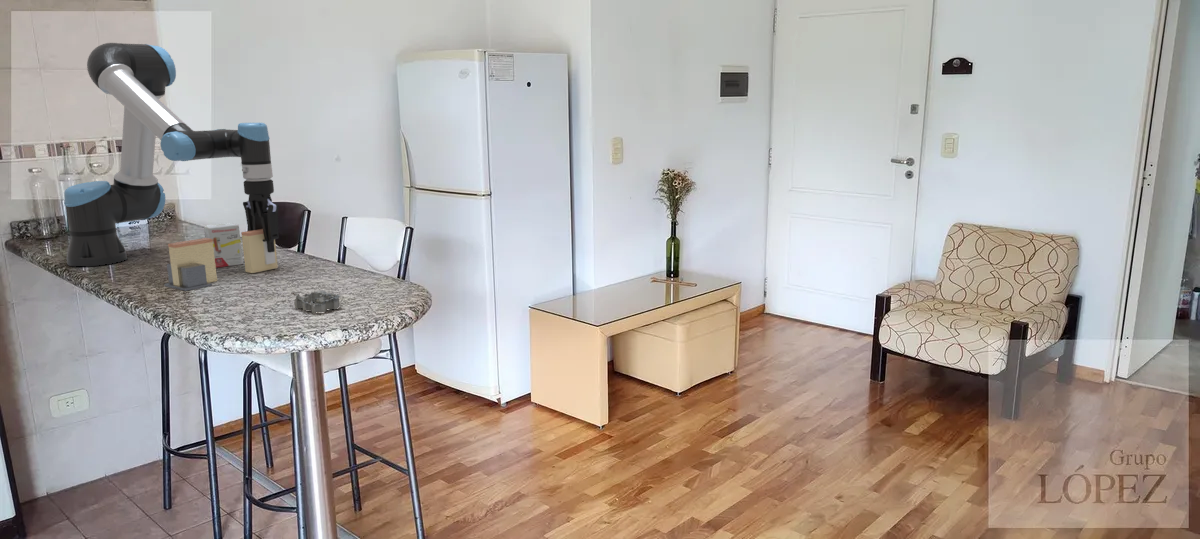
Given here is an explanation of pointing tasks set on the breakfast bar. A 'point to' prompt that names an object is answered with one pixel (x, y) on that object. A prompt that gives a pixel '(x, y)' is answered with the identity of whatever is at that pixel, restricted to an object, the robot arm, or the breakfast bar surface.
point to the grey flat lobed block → (317, 301)
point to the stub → (255, 252)
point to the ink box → (225, 243)
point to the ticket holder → (191, 264)
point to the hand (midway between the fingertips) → (266, 262)
